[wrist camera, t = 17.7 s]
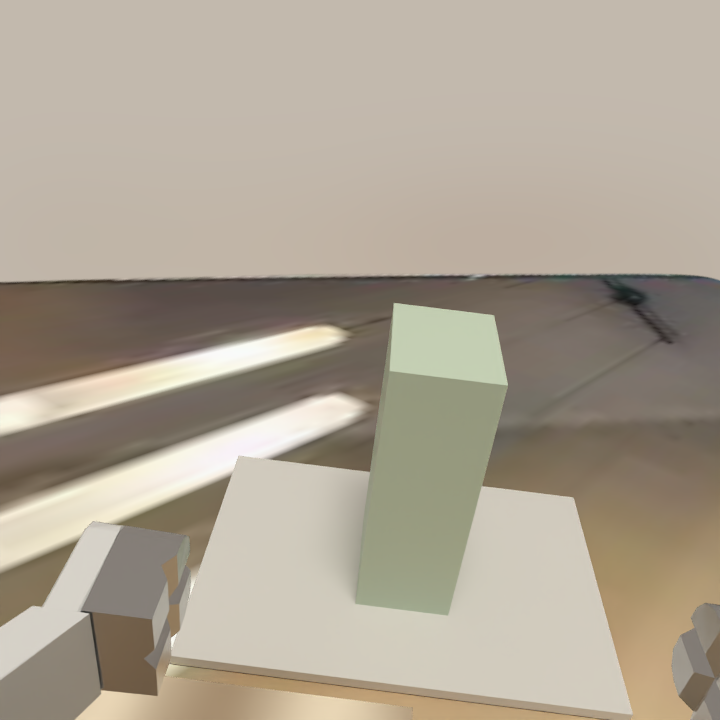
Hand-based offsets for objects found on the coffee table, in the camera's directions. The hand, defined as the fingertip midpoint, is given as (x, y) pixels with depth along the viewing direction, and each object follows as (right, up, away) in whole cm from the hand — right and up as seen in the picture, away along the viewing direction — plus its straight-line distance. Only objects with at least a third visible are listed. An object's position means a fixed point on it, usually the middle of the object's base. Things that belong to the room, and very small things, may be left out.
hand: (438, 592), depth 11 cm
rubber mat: (+1, -6, +21) cm, 22 cm away
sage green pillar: (+1, -6, +21) cm, 21 cm away
